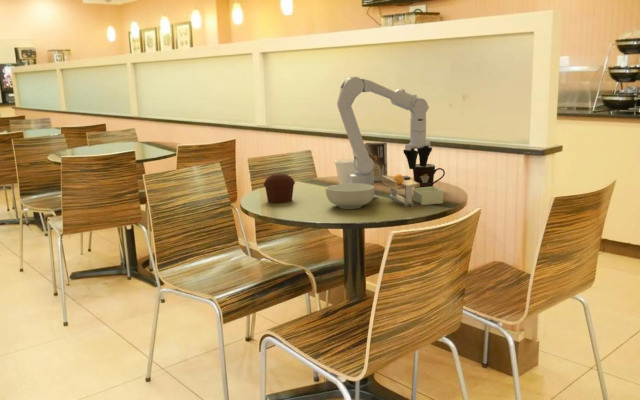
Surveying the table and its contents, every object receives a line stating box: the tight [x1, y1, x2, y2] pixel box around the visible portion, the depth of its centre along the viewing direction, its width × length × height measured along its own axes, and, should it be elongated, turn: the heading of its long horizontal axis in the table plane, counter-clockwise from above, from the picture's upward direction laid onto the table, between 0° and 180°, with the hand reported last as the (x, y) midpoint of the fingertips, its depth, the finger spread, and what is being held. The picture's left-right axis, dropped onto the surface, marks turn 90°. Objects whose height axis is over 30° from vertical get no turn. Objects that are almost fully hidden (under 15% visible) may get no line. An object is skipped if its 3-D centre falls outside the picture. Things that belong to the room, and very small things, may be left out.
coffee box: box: [364, 142, 388, 182], centre depth 252 cm, size 9×6×16 cm
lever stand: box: [388, 177, 414, 207], centre depth 207 cm, size 3×17×7 cm, turn 12°
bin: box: [413, 186, 444, 206], centre depth 205 cm, size 8×8×4 cm
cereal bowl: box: [325, 183, 376, 210], centre depth 202 cm, size 17×17×7 cm
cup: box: [334, 158, 356, 184], centre depth 238 cm, size 10×10×11 cm
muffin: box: [263, 173, 296, 204], centre depth 216 cm, size 12×11×10 cm
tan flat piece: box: [381, 175, 420, 191], centre depth 207 cm, size 9×14×3 cm, turn 12°
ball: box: [393, 173, 404, 185], centre depth 202 cm, size 4×4×4 cm
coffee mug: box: [412, 163, 446, 189], centre depth 224 cm, size 12×9×10 cm
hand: (417, 167), depth 218 cm, fingers open, 7 cm apart
